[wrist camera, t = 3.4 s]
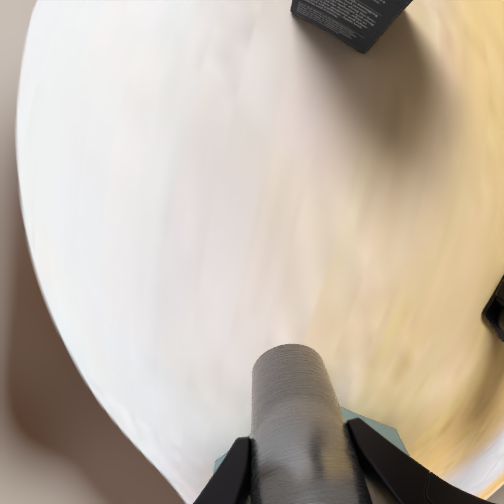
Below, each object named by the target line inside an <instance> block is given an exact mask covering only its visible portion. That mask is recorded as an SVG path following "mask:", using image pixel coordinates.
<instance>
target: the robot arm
mask: <svg viewBox="0 0 504 504" xmlns="http://www.w3.org/2000/svg"><path fill="white" fill-rule="evenodd" d="M483 316H484V317H485V319H486V320H487V322H488V323H489V324H490V326H491V327H492V328H493V330H494V331H495V333H496V334H497V335H498V337H499V338H500V340H501V341H503V342H504V276H503V278H502V280H501V282H500V284H499V285H498V287H497V289H496V291H495V292H494V294H493V296H492V297H491V299H490V301H489V302H488V304H487V305H486V307H485V309H484V311H483ZM346 425H347V428H348V431H349V434H350V437H351V440H352V443H353V445H354V448H355V451H356V454H357V457H358V460H359V463H360V466H361V469H362V472H363V475H364V478H365V481H366V484H367V487H368V490H369V493H370V496H371V499H372V503H373V504H495V503H491V502H488V501H486V500H483V499H481V498H479V497H476V496H474V495H471V494H469V493H467V492H465V491H462V490H460V489H458V488H456V487H454V486H452V485H450V484H449V483H447V482H446V481H444V480H442V479H441V478H439V477H438V476H436V475H435V474H434V473H432V472H430V471H429V470H428V469H426V468H425V467H424V466H422V465H421V464H419V463H418V462H417V461H415V460H414V459H413V458H411V457H410V456H408V455H407V454H406V453H404V452H403V451H402V450H400V449H399V448H398V447H396V446H395V445H394V444H393V443H391V442H390V441H389V440H387V439H386V438H385V437H383V436H382V435H381V434H380V433H378V432H377V431H376V430H375V429H373V428H372V427H371V426H369V425H368V424H367V423H366V422H365V421H363V420H362V419H361V418H359V417H356V418H352V419H348V420H347V421H346ZM429 472H430V473H429ZM250 501H251V438H250V437H239V438H237V439H236V440H235V442H234V443H233V445H232V447H231V448H230V450H229V451H228V453H227V455H226V456H225V458H224V459H223V461H222V462H221V464H220V465H219V467H218V468H217V470H216V471H215V473H214V474H213V476H212V477H211V479H210V480H209V482H208V483H207V485H206V486H205V488H204V489H203V490H202V492H201V493H200V495H199V496H198V498H197V499H196V500H195V502H194V503H193V504H250Z"/></svg>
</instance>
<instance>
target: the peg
mask: <svg viewBox="0 0 504 504" xmlns="http://www.w3.org/2000/svg"><path fill="white" fill-rule="evenodd" d="M250 504H373V503H372V499H371V496H370V493H369V490H368V487H367V484H366V481H365V478H364V475H363V472H362V469H361V466H360V463H359V460H358V457H357V454H356V451H355V448H354V445H353V443H352V440H351V437H350V434H349V431H348V428H347V425H346V423H345V420H344V417H343V414H342V411H341V409H340V406H339V403H338V400H337V398H336V395H335V392H334V389H333V387H332V384H331V381H330V378H329V376H328V373H327V370H326V368H325V365H324V362H323V360H322V358H321V356H320V355H319V354H318V353H317V352H316V351H315V350H313V349H311V348H309V347H307V346H304V345H300V344H285V345H280V346H277V347H274V348H272V349H270V350H268V351H267V352H265V353H264V354H263V355H261V356H260V357H259V359H258V360H257V361H256V363H255V365H254V367H253V371H252V427H251V501H250Z"/></svg>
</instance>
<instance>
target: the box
mask: <svg viewBox="0 0 504 504" xmlns="http://www.w3.org/2000/svg"><path fill="white" fill-rule="evenodd" d="M412 1H413V0H292V5H291V10H290V11H291V12H292V13H293V14H295V15H297V16H299V17H301V18H302V19H305V20H307V21H309V22H311V23H313V24H315V25H316V26H318V27H320V28H322V29H324V30H325V31H327V32H329V33H331V34H332V35H334V36H336V37H337V38H339V39H340V40H342V41H344V42H346V43H347V44H349V45H350V46H352V47H353V48H355V49H356V50H358V51H360V52H361V53H364V54H365V53H366V52H367V51H368V50H369V49H370V48H371V47H372V46H373V44H374V43H375V42H376V41H377V40H378V38H379V37H380V36H381V35H382V34H383V33H384V32H385V30H386V29H387V28H388V27H389V26H390V25H391V24H392V22H393V21H394V20H395V19H396V18H397V17H398V16H399V15H400V14H401V13H402V11H403V10H404V9H405V8H406V7H407V6H408V5H409V4H410V3H411V2H412Z"/></svg>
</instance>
